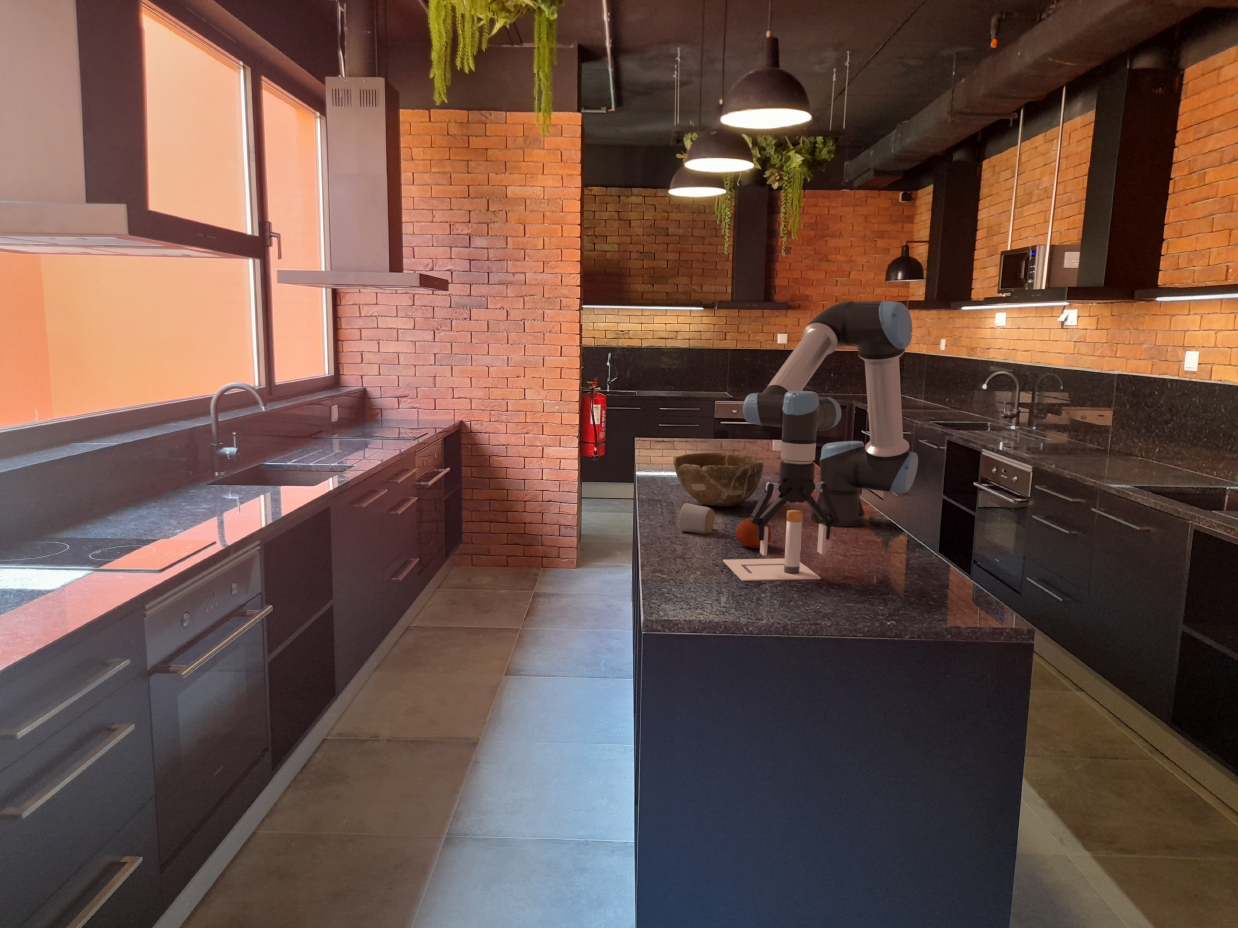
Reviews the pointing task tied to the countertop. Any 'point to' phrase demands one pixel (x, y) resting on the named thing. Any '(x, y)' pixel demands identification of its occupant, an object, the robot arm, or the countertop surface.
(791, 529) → the marker
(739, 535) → the fruit
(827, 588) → the countertop surface
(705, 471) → the bowl
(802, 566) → the paper
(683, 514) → the ceramic mug
